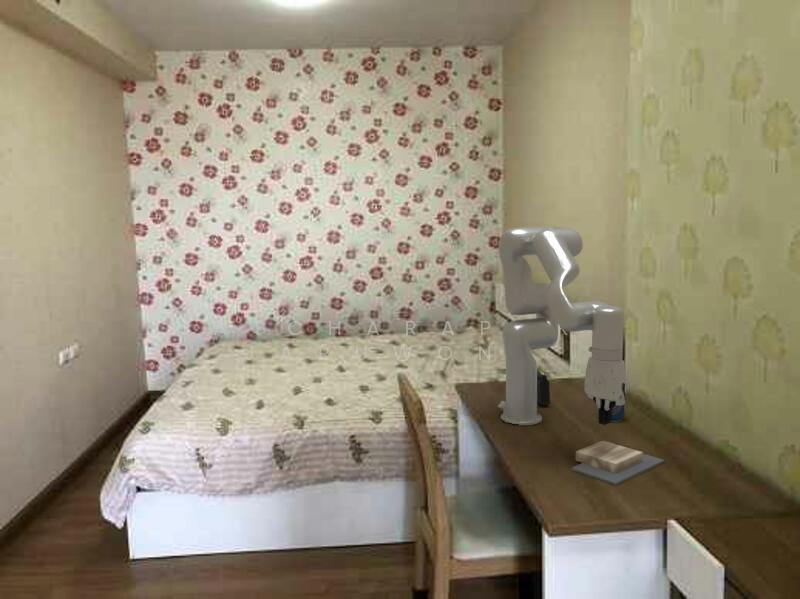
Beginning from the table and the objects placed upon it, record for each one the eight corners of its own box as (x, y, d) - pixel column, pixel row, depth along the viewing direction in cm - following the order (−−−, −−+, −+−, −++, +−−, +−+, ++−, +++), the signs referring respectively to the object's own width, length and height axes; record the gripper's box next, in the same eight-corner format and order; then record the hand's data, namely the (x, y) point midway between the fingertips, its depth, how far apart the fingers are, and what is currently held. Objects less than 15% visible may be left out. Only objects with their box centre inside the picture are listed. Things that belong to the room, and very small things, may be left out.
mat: (571, 470, 180) (571, 467, 180) (620, 449, 194) (620, 447, 194) (615, 485, 170) (615, 483, 170) (664, 462, 184) (664, 460, 184)
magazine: (552, 383, 229) (534, 339, 256) (542, 383, 229) (525, 339, 256) (548, 427, 236) (531, 379, 264) (538, 427, 236) (522, 379, 264)
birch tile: (575, 451, 185) (615, 463, 175) (602, 440, 192) (642, 452, 183) (575, 460, 185) (615, 473, 176) (602, 449, 193) (642, 461, 183)
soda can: (601, 421, 218) (602, 383, 216) (601, 415, 224) (602, 378, 222) (624, 423, 216) (625, 385, 214) (624, 416, 222) (625, 379, 220)
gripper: (573, 351, 184) (572, 419, 187) (624, 361, 173) (621, 433, 176) (591, 347, 189) (589, 413, 192) (641, 356, 178) (638, 426, 181)
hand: (605, 422), depth 184 cm, fingers closed
